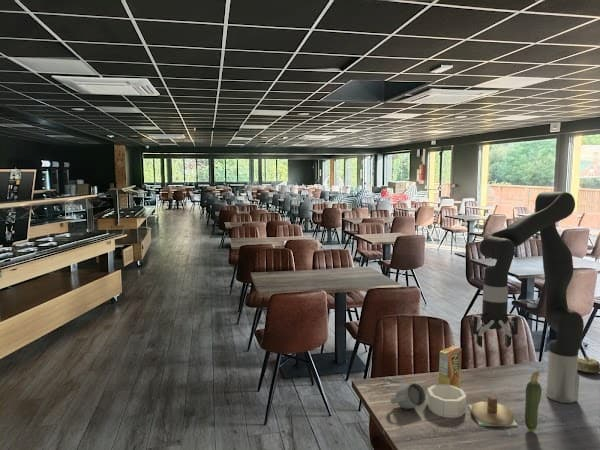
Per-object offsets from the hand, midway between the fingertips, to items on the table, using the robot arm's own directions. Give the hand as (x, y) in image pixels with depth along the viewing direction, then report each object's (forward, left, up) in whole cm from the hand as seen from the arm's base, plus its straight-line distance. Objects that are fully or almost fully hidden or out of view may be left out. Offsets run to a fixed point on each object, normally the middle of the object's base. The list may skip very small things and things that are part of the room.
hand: (493, 346), depth 149 cm
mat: (0, +1, -24) cm, 24 cm away
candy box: (+9, -18, -24) cm, 32 cm away
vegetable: (-10, +9, -24) cm, 27 cm away
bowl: (+14, -3, -24) cm, 28 cm away
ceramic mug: (+28, -1, -24) cm, 37 cm away
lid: (0, +1, -24) cm, 24 cm away
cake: (-52, -40, -25) cm, 70 cm away
